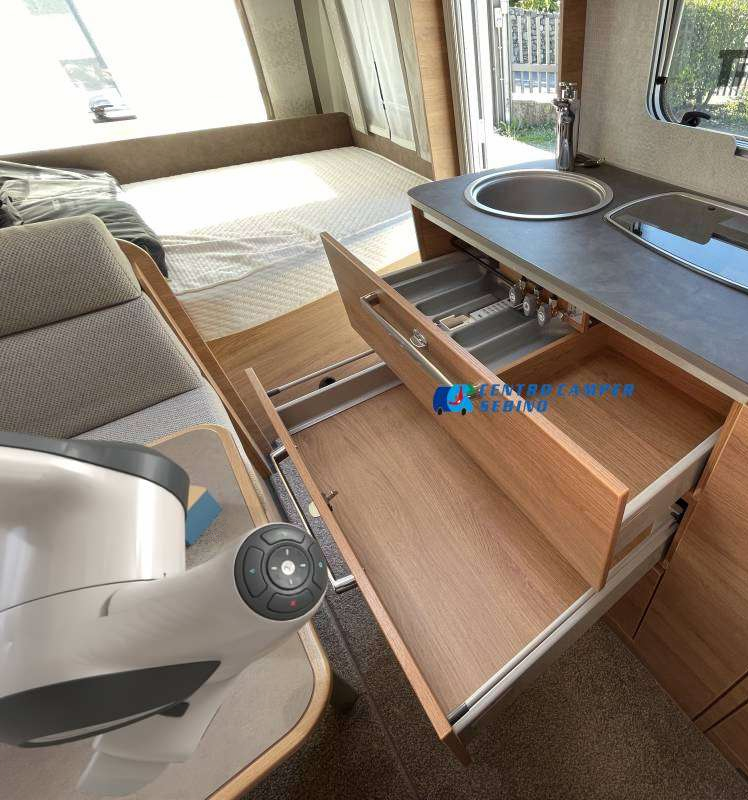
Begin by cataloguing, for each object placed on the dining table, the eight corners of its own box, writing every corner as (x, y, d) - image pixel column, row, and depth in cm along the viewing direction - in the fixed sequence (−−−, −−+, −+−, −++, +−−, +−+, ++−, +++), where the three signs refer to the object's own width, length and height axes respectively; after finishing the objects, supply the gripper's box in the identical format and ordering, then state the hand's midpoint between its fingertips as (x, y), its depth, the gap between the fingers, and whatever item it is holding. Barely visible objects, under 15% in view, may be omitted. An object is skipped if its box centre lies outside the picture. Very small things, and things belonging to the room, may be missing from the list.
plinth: (192, 546, 70) (171, 524, 66) (153, 539, 71) (130, 517, 67) (222, 509, 75) (205, 487, 71) (186, 503, 76) (167, 481, 72)
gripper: (233, 516, 45) (187, 565, 52) (75, 775, 30) (38, 798, 36) (292, 540, 48) (242, 583, 55) (176, 787, 33) (126, 807, 39)
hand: (160, 671), depth 45 cm, fingers closed on supplement bottle, 5 cm apart
